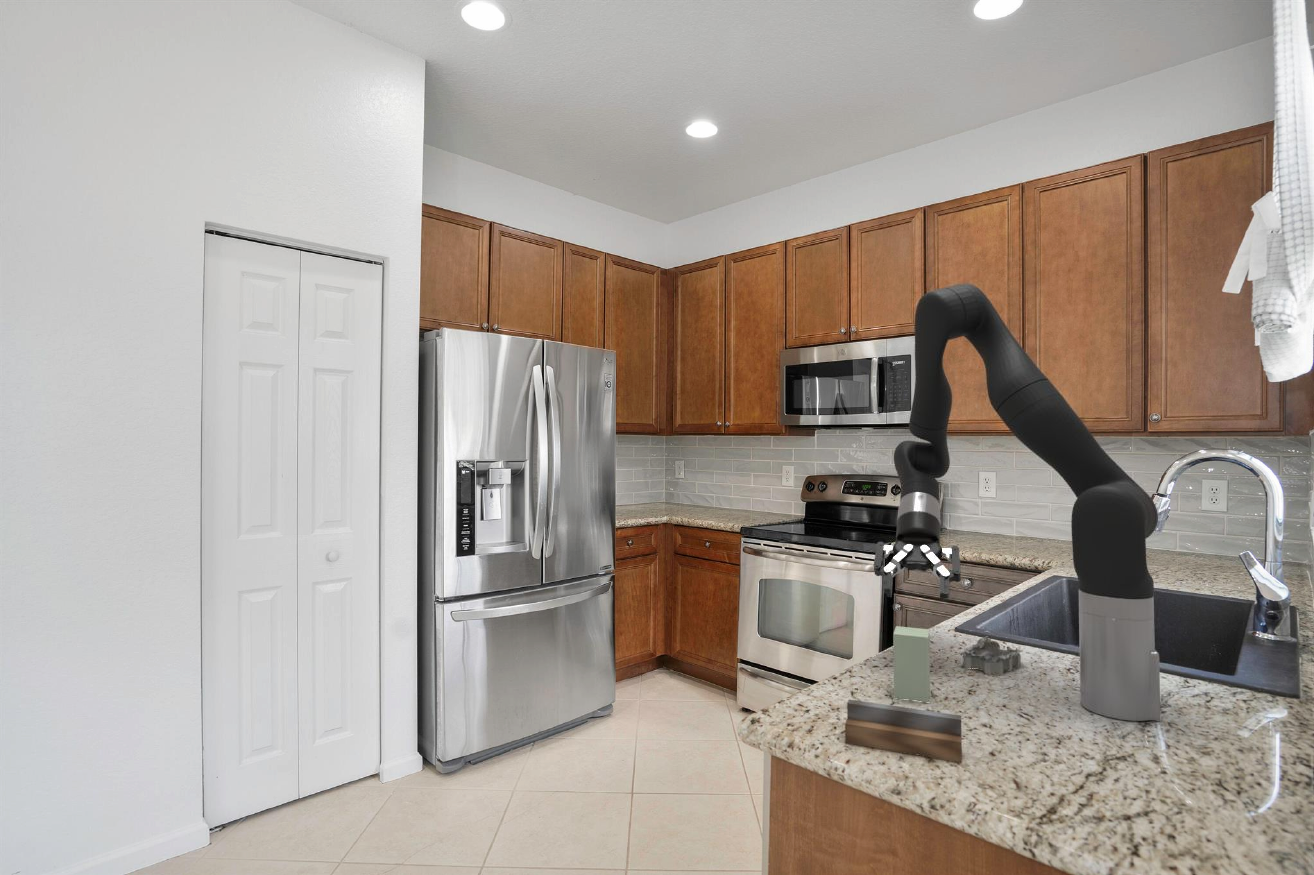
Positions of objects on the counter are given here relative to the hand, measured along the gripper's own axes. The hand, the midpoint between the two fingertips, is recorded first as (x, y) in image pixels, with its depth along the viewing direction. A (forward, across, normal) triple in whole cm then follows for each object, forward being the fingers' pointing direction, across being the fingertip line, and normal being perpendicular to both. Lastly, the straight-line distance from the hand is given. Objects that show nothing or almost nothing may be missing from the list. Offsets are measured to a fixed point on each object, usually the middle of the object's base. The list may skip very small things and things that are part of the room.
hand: (915, 596), depth 114 cm
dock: (+28, 0, -9) cm, 29 cm away
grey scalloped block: (+2, +12, +18) cm, 21 cm away
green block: (+17, 0, +2) cm, 17 cm away
